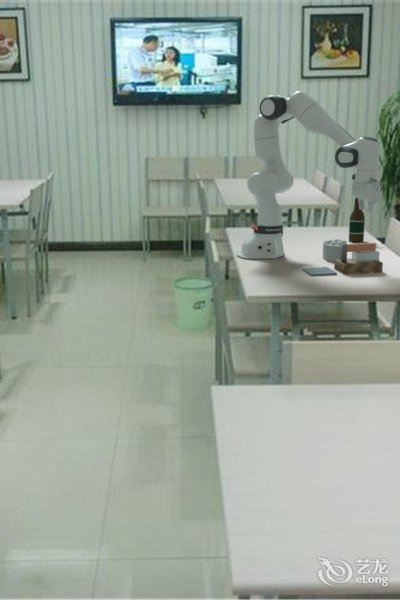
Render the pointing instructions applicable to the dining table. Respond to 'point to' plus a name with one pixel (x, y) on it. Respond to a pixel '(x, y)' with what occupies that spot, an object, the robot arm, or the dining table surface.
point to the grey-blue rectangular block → (365, 256)
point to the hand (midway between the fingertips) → (365, 210)
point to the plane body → (357, 266)
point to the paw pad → (332, 249)
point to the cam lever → (356, 249)
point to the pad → (319, 271)
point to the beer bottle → (356, 224)
